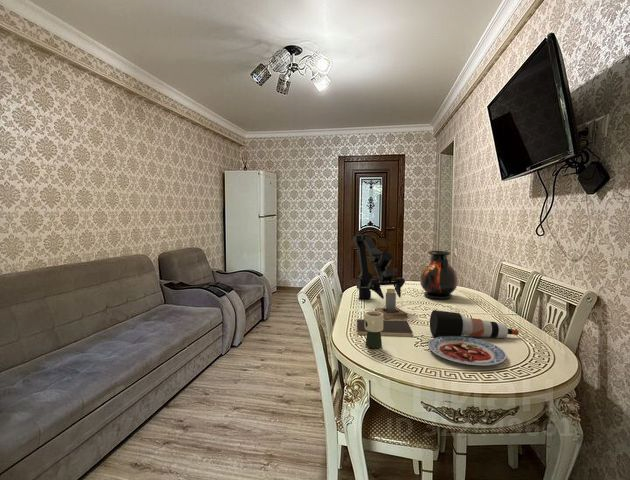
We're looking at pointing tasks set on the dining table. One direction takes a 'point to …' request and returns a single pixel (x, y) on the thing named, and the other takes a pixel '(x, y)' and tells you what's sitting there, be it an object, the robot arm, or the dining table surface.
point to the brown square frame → (398, 313)
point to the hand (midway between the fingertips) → (391, 297)
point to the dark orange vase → (438, 277)
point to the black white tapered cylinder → (466, 326)
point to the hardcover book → (388, 328)
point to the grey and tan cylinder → (390, 301)
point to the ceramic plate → (467, 350)
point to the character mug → (373, 328)
